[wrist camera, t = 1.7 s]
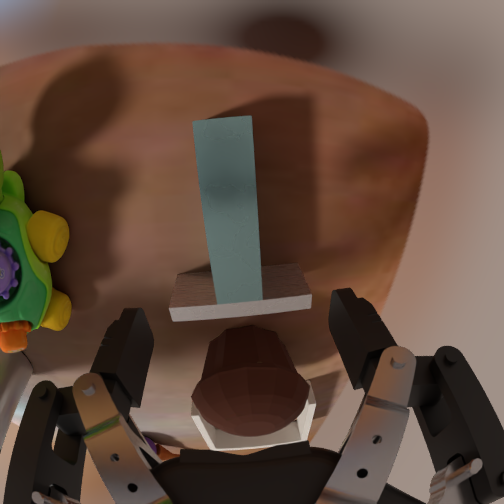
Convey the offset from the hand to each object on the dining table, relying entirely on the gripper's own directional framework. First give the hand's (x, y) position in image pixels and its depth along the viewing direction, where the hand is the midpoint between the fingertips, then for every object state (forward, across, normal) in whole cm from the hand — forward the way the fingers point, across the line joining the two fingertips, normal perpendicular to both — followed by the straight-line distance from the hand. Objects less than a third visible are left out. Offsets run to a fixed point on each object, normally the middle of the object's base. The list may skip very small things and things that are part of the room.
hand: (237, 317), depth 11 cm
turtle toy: (+13, +23, -2) cm, 27 cm away
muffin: (+13, 0, +17) cm, 21 cm away
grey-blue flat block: (+13, 0, 0) cm, 13 cm away
